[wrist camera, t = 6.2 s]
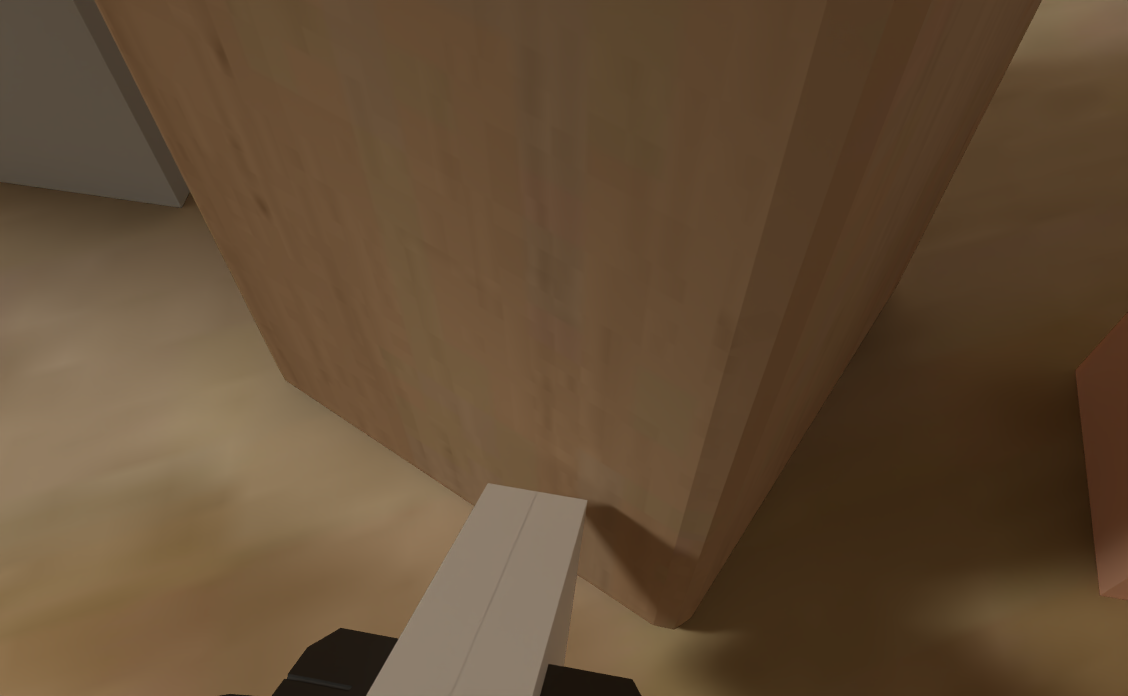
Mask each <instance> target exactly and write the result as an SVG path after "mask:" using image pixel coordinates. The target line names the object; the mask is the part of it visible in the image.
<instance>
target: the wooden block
mask: <svg viewBox="0 0 1128 696" xmlns="http://www.w3.org/2000/svg"><path fill="white" fill-rule="evenodd" d="M94 1H95V3H96V5H97V7H98V9H99V11H100V13H101V15H102V17H103V19H104V21H105V23H106V25H107V27H108V29H109V31H110V33H111V35H112V37H113V39H114V41H115V43H116V45H117V47H118V49H119V51H120V53H121V55H122V57H123V59H124V61H125V63H126V65H127V67H128V69H129V71H130V73H131V75H132V77H133V79H134V81H135V83H136V85H137V87H138V89H139V91H140V93H141V95H142V97H143V99H144V101H145V103H146V105H147V107H148V109H149V111H150V113H151V115H152V117H153V119H154V121H155V123H156V125H157V127H158V129H159V131H160V133H161V135H162V137H163V139H164V141H165V143H166V145H167V147H168V149H169V150H170V152H171V154H172V156H173V158H174V160H175V162H176V164H177V166H178V168H179V170H180V172H181V174H182V176H183V178H184V180H185V182H186V184H187V186H188V188H189V190H190V192H191V194H192V196H193V198H194V200H195V202H196V204H197V206H198V208H199V210H200V212H201V214H202V216H203V218H204V220H205V222H206V224H207V226H208V228H209V230H210V232H211V234H212V236H213V238H214V240H215V242H216V244H217V246H218V248H219V250H220V252H221V254H222V256H223V258H224V260H225V262H226V264H227V266H228V268H229V270H230V272H231V274H232V276H233V278H234V280H235V282H236V284H237V286H238V288H239V290H240V292H241V294H242V296H243V298H244V300H245V302H246V304H247V306H248V308H249V310H250V312H251V314H252V316H253V318H254V320H255V322H256V324H257V326H258V328H259V330H260V332H261V334H262V336H263V338H264V340H265V342H266V344H267V346H268V348H269V350H270V352H271V354H272V356H273V358H274V360H275V362H276V364H277V366H278V368H279V370H280V371H281V373H282V375H283V377H284V378H285V380H286V381H288V382H289V383H291V384H292V385H294V386H295V387H297V388H298V389H300V390H301V391H303V392H304V393H306V394H307V395H309V396H310V397H312V398H313V399H315V400H316V401H318V402H319V403H321V404H322V405H324V406H325V407H327V408H328V409H330V410H331V411H333V412H334V413H336V414H337V415H339V416H340V417H342V418H343V419H345V420H346V421H348V422H349V423H351V424H352V425H354V426H355V427H357V428H358V429H360V430H361V431H363V432H364V433H366V434H367V435H369V436H370V437H372V438H373V439H375V440H376V441H378V442H379V443H381V444H382V445H384V446H385V447H387V448H388V449H390V450H391V451H393V452H394V453H396V454H397V455H399V456H400V457H402V458H403V459H405V460H406V461H408V462H409V463H411V464H412V465H414V466H415V467H417V468H418V469H420V470H421V471H423V472H424V473H426V474H427V475H429V476H430V477H432V478H433V479H435V480H436V481H438V482H439V483H441V484H442V485H444V486H445V487H447V488H448V489H450V490H451V491H453V492H454V493H456V494H457V495H459V496H460V497H462V498H463V499H465V500H466V501H468V502H469V503H471V504H472V505H474V506H475V505H476V503H477V501H478V500H479V498H480V496H481V494H482V493H483V491H484V489H485V487H486V486H487V484H488V483H490V484H496V485H502V486H507V487H513V488H519V489H525V490H531V491H537V492H543V493H548V494H554V495H560V496H566V497H572V498H578V499H584V500H587V507H586V514H585V521H584V528H583V535H582V542H581V549H580V556H579V563H578V570H577V575H579V576H580V577H582V578H583V579H585V580H586V581H588V582H589V583H591V584H592V585H594V586H595V587H597V588H598V589H600V590H601V591H603V592H604V593H606V594H607V595H609V596H610V597H612V598H613V599H615V600H616V601H618V602H619V603H621V604H622V605H624V606H625V607H627V608H628V609H630V610H631V611H633V612H634V613H636V614H637V615H639V616H640V617H642V618H643V619H645V620H646V621H648V622H649V623H651V624H652V625H656V626H660V627H665V628H670V629H675V628H677V627H678V626H680V625H681V624H683V623H684V622H686V621H687V620H689V619H690V618H691V617H692V615H693V614H694V612H695V611H696V609H697V607H698V606H699V604H700V602H701V601H702V599H703V598H704V596H705V594H706V593H707V591H708V590H709V588H710V586H711V585H712V583H713V582H714V580H715V578H716V577H717V575H718V573H719V572H720V570H721V569H722V567H723V565H724V564H725V562H726V561H727V559H728V557H729V556H730V554H731V552H732V551H733V549H734V548H735V546H736V544H737V543H738V541H739V540H740V538H741V536H742V535H743V533H744V531H745V530H746V528H747V527H748V525H749V523H750V522H751V520H752V519H753V517H754V515H755V514H756V512H757V510H758V509H759V507H760V506H761V504H762V502H763V501H764V499H765V498H766V496H767V494H768V493H769V491H770V490H771V488H772V486H773V485H774V483H775V481H776V480H777V478H778V477H779V475H780V473H781V472H782V470H783V469H784V467H785V465H786V464H787V462H788V460H789V459H790V457H791V456H792V454H793V452H794V451H795V449H796V448H797V446H798V444H799V443H800V441H801V439H802V438H803V436H804V435H805V433H806V431H807V430H808V428H809V427H810V425H811V423H812V422H813V420H814V419H815V417H816V415H817V414H818V412H819V410H820V409H821V407H822V406H823V404H824V402H825V401H826V399H827V398H828V396H829V394H830V393H831V391H832V389H833V388H834V386H835V385H836V383H837V381H838V380H839V378H840V377H841V375H842V373H843V372H844V370H845V368H846V367H847V365H848V364H849V362H850V360H851V359H852V357H853V356H854V354H855V352H856V351H857V349H858V347H859V346H860V344H861V343H862V341H863V339H864V338H865V336H866V335H867V333H868V331H869V330H870V328H871V327H872V325H873V323H874V322H875V320H876V318H877V317H878V315H879V314H880V312H881V310H882V309H883V307H884V306H885V304H886V302H887V301H888V299H889V297H890V296H891V294H892V293H893V291H894V289H895V288H896V286H897V285H898V283H899V281H900V279H901V277H902V275H903V273H904V271H905V269H906V267H907V265H908V263H909V261H910V259H911V257H912V255H913V253H914V251H915V249H916V247H917V245H918V243H919V241H920V239H921V237H922V236H923V234H924V232H925V230H926V228H927V226H928V224H929V222H930V220H931V218H932V216H933V214H934V212H935V210H936V208H937V206H938V204H939V202H940V200H941V198H942V196H943V194H944V192H945V190H946V188H947V186H948V184H949V182H950V180H951V178H952V176H953V174H954V172H955V170H956V168H957V166H958V165H959V163H960V161H961V159H962V157H963V155H964V153H965V151H966V149H967V147H968V145H969V143H970V141H971V139H972V137H973V135H974V133H975V131H976V129H977V127H978V125H979V123H980V121H981V119H982V117H983V115H984V113H985V111H986V109H987V107H988V105H989V103H990V101H991V99H992V97H993V95H994V94H995V92H996V90H997V88H998V86H999V84H1000V82H1001V80H1002V78H1003V76H1004V74H1005V72H1006V70H1007V68H1008V66H1009V64H1010V62H1011V60H1012V58H1013V56H1014V54H1015V52H1016V50H1017V48H1018V46H1019V44H1020V42H1021V40H1022V38H1023V36H1024V34H1025V32H1026V30H1027V28H1028V26H1029V24H1030V22H1031V21H1032V19H1033V17H1034V15H1035V13H1036V11H1037V9H1038V7H1039V5H1040V3H1041V1H1042V0H94Z"/></svg>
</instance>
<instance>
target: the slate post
mask: <svg viewBox="0 0 1128 696" xmlns="http://www.w3.org/2000/svg"><path fill="white" fill-rule="evenodd" d="M0 182H5V183H12V184H19V185H26V186H33V187H40V188H47V189H54V190H61V191H67V192H74V193H81V194H88V195H95V196H102V197H109V198H116V199H123V200H130V201H137V202H144V203H151V204H158V205H165V206H172V207H179V208H182V206H183V204H184V202H185V200H186V198H187V196H188V194H189V192H190V190H189V188H188V186H187V184H186V182H185V180H184V178H183V176H182V174H181V172H180V170H179V168H178V166H177V164H176V162H175V160H174V158H173V156H172V154H171V152H170V150H169V149H168V147H167V145H166V143H165V141H164V139H163V137H162V135H161V133H160V131H159V129H158V127H157V125H156V123H155V121H154V119H153V117H152V115H151V113H150V111H149V109H148V107H147V105H146V103H145V101H144V99H143V97H142V95H141V93H140V91H139V89H138V87H137V85H136V83H135V81H134V79H133V77H132V75H131V73H130V71H129V69H128V67H127V65H126V63H125V61H124V59H123V57H122V55H121V53H120V51H119V49H118V47H117V45H116V43H115V41H114V39H113V37H112V35H111V33H110V31H109V29H108V27H107V25H106V23H105V21H104V19H103V17H102V15H101V13H100V11H99V9H98V7H97V5H96V3H95V1H94V0H0Z"/></svg>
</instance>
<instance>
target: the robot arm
mask: <svg viewBox="0 0 1128 696" xmlns="http://www.w3.org/2000/svg"><path fill="white" fill-rule="evenodd" d="M586 507H587V500H584V499H578V498H572V497H566V496H560V495H554V494H548V493H543V492H537V491H531V490H525V489H519V488H513V487H507V486H502V485H496V484H490V483H488V484H487V486H486V487H485V489H484V491H483V493H482V494H481V496H480V498H479V500H478V501H477V503H476V505H475V507H474V508H473V510H472V512H471V514H470V515H469V517H468V519H467V520H466V522H465V524H464V526H463V527H462V529H461V531H460V533H459V534H458V536H457V538H456V540H455V541H454V543H453V545H452V547H451V548H450V550H449V552H448V554H447V555H446V557H445V559H444V561H443V562H442V564H441V566H440V568H439V569H438V571H437V573H436V575H435V576H434V578H433V580H432V582H431V583H430V585H429V587H428V589H427V590H426V592H425V594H424V596H423V597H422V599H421V601H420V603H419V604H418V606H417V608H416V610H415V611H414V613H413V615H412V617H411V618H410V620H409V622H408V624H407V625H406V627H405V629H404V631H403V632H402V634H401V636H400V638H399V639H397V638H392V637H386V636H381V635H376V634H370V633H365V632H360V631H354V630H349V629H344V628H340V629H338V630H336V631H335V632H333V633H331V634H330V635H328V636H326V637H324V638H323V639H321V640H319V641H318V642H316V643H314V644H312V645H311V646H309V647H307V649H306V650H305V651H304V653H303V654H302V656H301V657H300V658H299V660H298V661H297V662H296V664H295V665H294V666H293V668H292V669H291V670H290V672H289V673H288V677H287V679H284V680H283V681H282V683H281V684H280V685H279V687H278V688H277V689H276V691H275V692H274V694H273V695H272V696H641V694H640V693H639V691H638V689H637V687H636V685H635V683H634V681H633V680H632V679H627V678H622V677H617V676H611V675H606V674H601V673H595V672H590V671H585V670H579V669H574V668H569V667H564V661H565V654H566V647H567V640H568V633H569V626H570V619H571V612H572V605H573V598H574V591H575V584H576V577H577V570H578V563H579V556H580V549H581V542H582V535H583V528H584V521H585V514H586ZM221 696H250V695H235V694H227V695H221Z"/></svg>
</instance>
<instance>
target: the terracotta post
mask: <svg viewBox="0 0 1128 696" xmlns="http://www.w3.org/2000/svg"><path fill="white" fill-rule="evenodd" d="M1075 373H1076V382H1077V391H1078V400H1079V409H1080V418H1081V427H1082V437H1083V446H1084V455H1085V464H1086V473H1087V482H1088V491H1089V500H1090V510H1091V519H1092V528H1093V537H1094V546H1095V555H1096V564H1097V573H1098V582H1099V592H1100V596H1106V597H1112V598H1118V599H1124V600H1128V312H1127V313H1126V314H1125V316H1124V317H1123V318H1122V319H1121V320H1120V321H1119V322H1118V323H1117V325H1116V326H1115V327H1114V328H1113V329H1112V330H1111V331H1110V332H1109V333H1108V335H1107V336H1106V337H1105V338H1104V339H1103V340H1102V341H1101V342H1100V343H1099V345H1098V346H1097V347H1096V348H1095V349H1094V350H1093V351H1092V352H1091V354H1090V355H1089V356H1088V357H1087V358H1086V359H1085V360H1084V361H1083V362H1082V364H1081V365H1080V366H1079V367H1078V368H1077V369H1076V370H1075Z"/></svg>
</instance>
